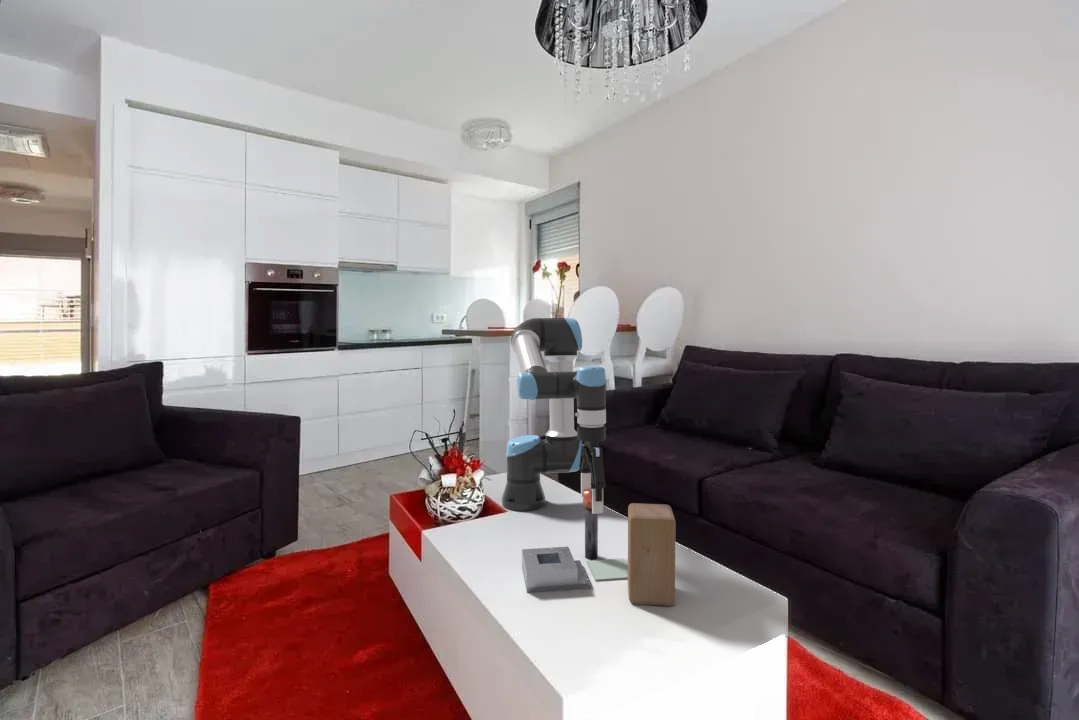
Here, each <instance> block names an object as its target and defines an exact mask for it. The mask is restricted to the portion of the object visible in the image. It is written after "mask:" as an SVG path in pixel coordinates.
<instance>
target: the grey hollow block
mask: <svg viewBox="0 0 1079 720" xmlns="http://www.w3.org/2000/svg"><path fill="white" fill-rule="evenodd" d="M572 554H573V553H572V552H571V549H570V547H569V546H558V547H557V546H556V547H542V548H541V547H539V548H537V547H536V548H521V557H522V558H521V570H522V575H523V580H524V584H525V590H526V593H535V592H536V593H539V592H549V591H551V592H553V591H554V592H555V591H565V590H577V589H578V590H579V589H582V590H583V589H591V582H590V579H589V578H588V576H587V573H586V570H585V568H584V567H583V564H582V562H581V560H580V559H579V560H578V559H577V560H575V558H574V556H573V555H572Z"/></svg>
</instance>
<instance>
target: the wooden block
mask: <svg viewBox="0 0 1079 720" xmlns="http://www.w3.org/2000/svg"><path fill="white" fill-rule="evenodd" d="M676 528H677V527H676V519H675V516H674V512H673V510H672V507H671V505H669V504H664V503H663V504H662V503H640V502H639V503H638V502H637V503H635V502H632V503H629V505H628V507H627V565H628V579H627V592H628V600H629V602H630V603H632V604H638V605H651V606H664V607H666V606H667V607H672V606H674V604H675V602H676V534H677V533H676V532H677V531H676Z"/></svg>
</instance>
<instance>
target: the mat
mask: <svg viewBox="0 0 1079 720" xmlns="http://www.w3.org/2000/svg"><path fill="white" fill-rule="evenodd" d="M586 565H587V566H588V568H589V571H590V573H591V575H592V576H593V580H594V581H595V582H602V581H615V580H617V581H618V580H628V562H627V561H626V559H625V558H612V559H594V560H586Z"/></svg>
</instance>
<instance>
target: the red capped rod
mask: <svg viewBox="0 0 1079 720" xmlns="http://www.w3.org/2000/svg"><path fill="white" fill-rule="evenodd" d="M582 507H584V558H585V559H587V560H588V561H593V560H598V557H599V542H598V541H599V530H598V529H599V525H598V524H599V523H598V522H599V521H598V520H599V519H598V518H599V513H598V514H593V513H592V489H591V488H589V489H584V490H583V497H582Z"/></svg>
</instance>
